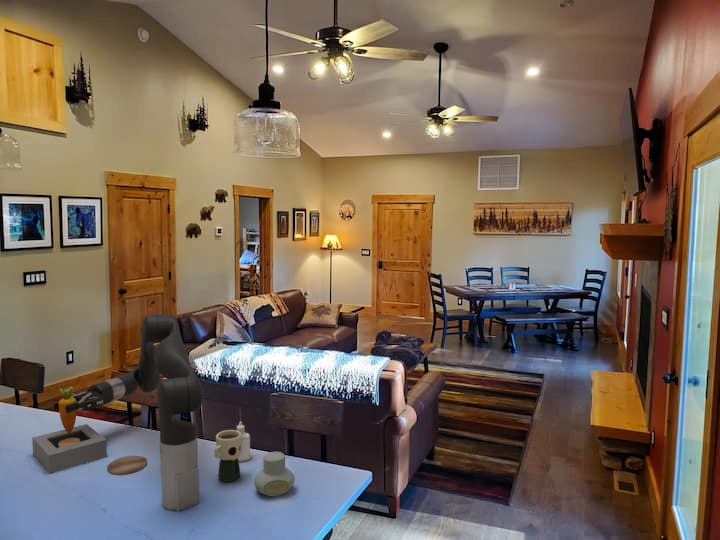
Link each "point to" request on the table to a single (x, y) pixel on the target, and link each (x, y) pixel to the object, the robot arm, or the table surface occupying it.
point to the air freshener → (274, 475)
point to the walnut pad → (127, 465)
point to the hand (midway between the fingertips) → (60, 408)
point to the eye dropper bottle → (244, 443)
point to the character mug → (228, 454)
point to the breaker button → (68, 442)
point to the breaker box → (69, 448)
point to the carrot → (66, 418)
